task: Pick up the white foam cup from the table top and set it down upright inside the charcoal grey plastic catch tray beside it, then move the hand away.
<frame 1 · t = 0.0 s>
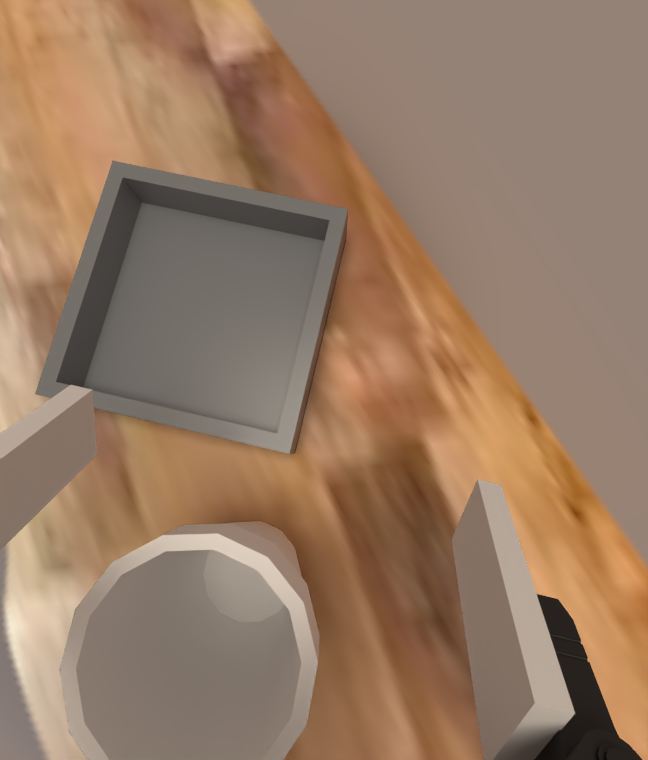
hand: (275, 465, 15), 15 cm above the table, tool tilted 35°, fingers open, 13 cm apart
foam cup: (252, 569, 29), on the table
catch tray: (212, 317, 32), on the table
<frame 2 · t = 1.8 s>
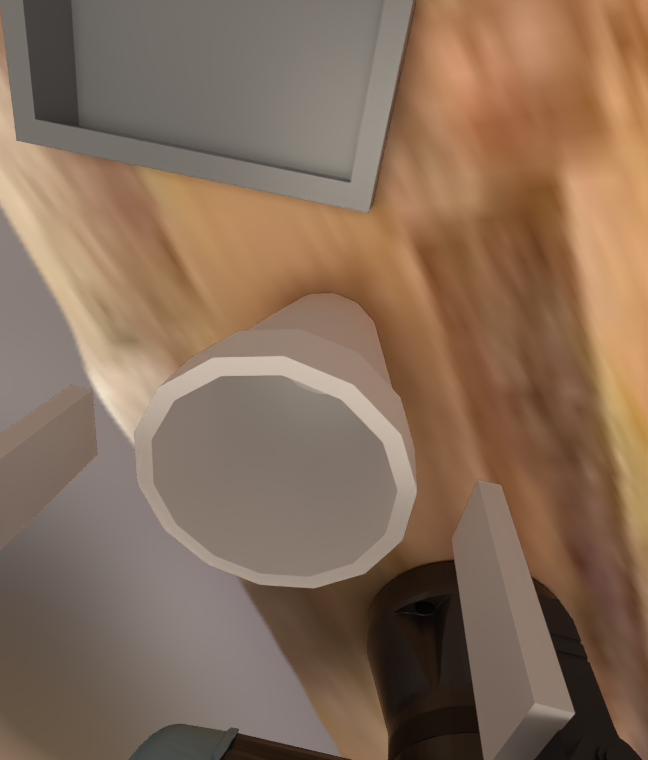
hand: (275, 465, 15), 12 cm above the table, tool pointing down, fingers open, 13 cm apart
foam cup: (326, 343, 26), on the table
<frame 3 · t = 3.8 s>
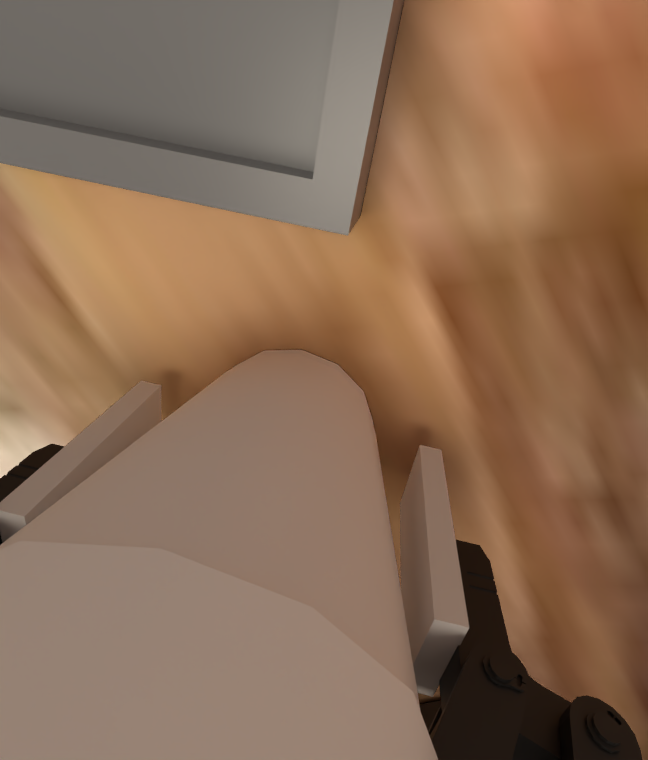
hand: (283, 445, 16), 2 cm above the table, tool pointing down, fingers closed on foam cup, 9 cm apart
foam cup: (293, 420, 18), on the table, touching gripper
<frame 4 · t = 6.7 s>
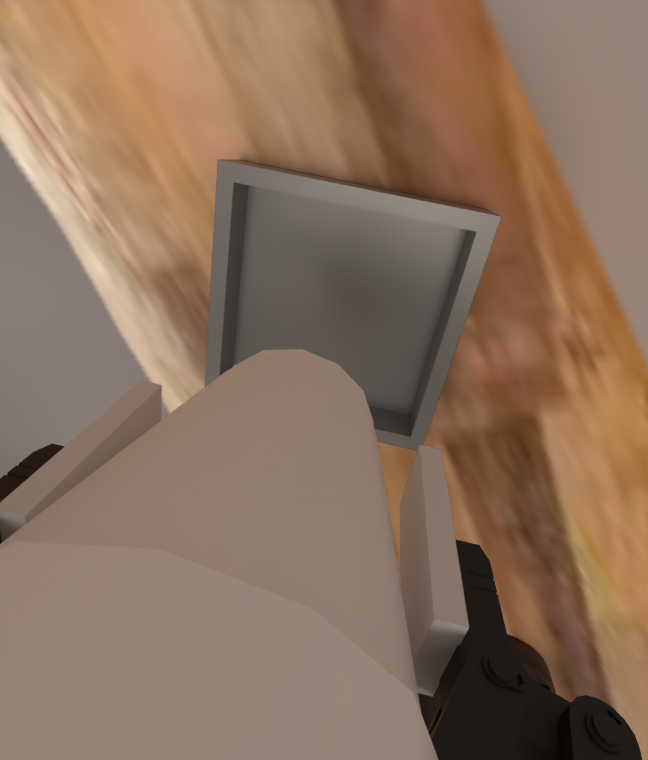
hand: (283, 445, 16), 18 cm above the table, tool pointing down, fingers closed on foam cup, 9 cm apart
foam cup: (293, 420, 18), point 16 cm above the table, touching gripper
catch tray: (338, 304, 32), on the table
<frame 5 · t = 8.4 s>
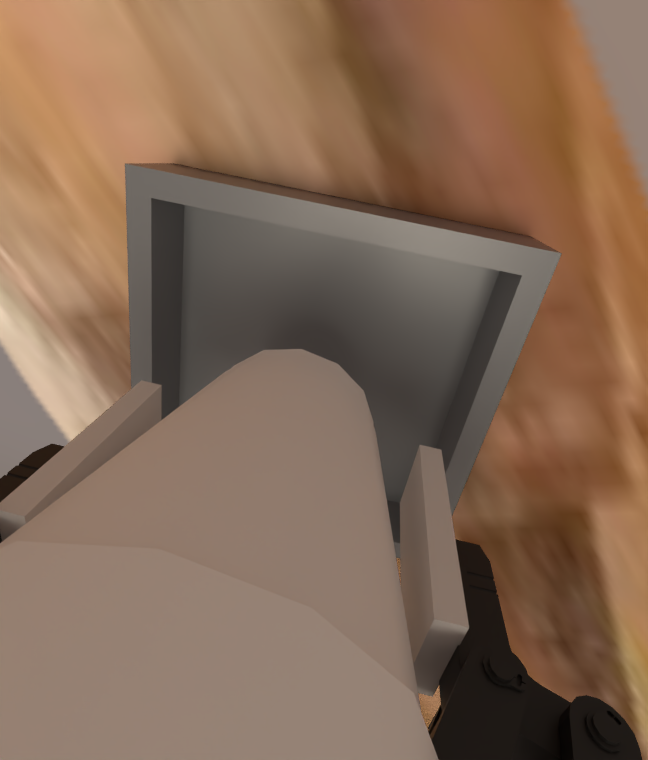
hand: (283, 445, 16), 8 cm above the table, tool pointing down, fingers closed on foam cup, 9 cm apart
foam cup: (293, 420, 17), point 6 cm above the table, touching gripper
catch tray: (317, 362, 23), on the table
when the fingers open (5 cm above the table, at t = 9.9 s): foam cup drops 2 cm, resting on catch tray.
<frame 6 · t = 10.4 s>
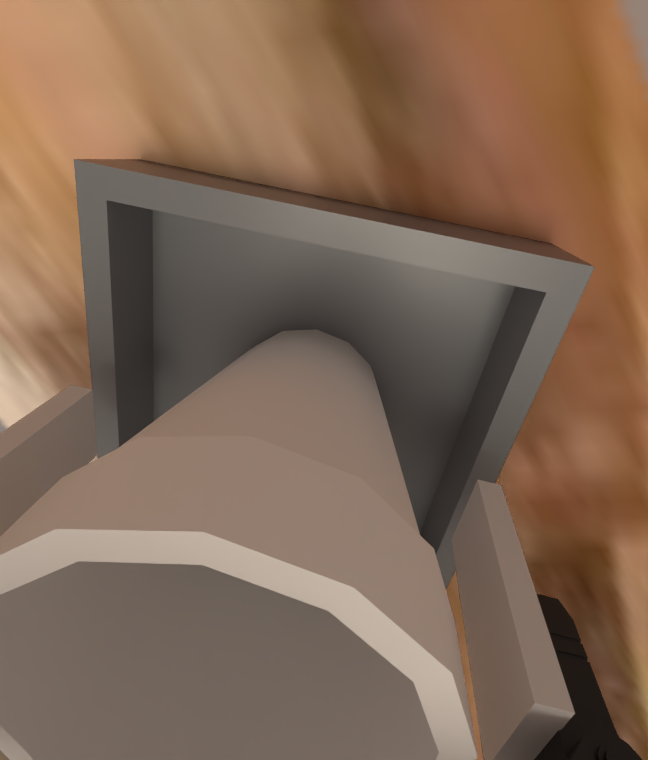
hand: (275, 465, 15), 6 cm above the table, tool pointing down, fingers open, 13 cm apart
foam cup: (307, 394, 20), point 1 cm above the table, touching catch tray
catch tray: (308, 383, 20), on the table
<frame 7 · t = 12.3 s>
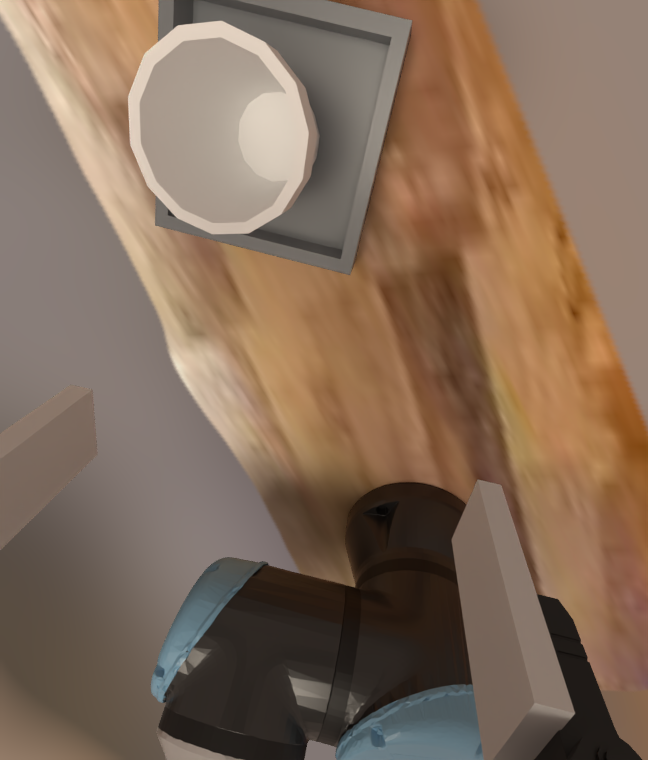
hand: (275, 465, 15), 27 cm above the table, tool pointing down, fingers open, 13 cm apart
foam cup: (279, 138, 34), point 1 cm above the table, touching catch tray
catch tray: (279, 137, 34), on the table
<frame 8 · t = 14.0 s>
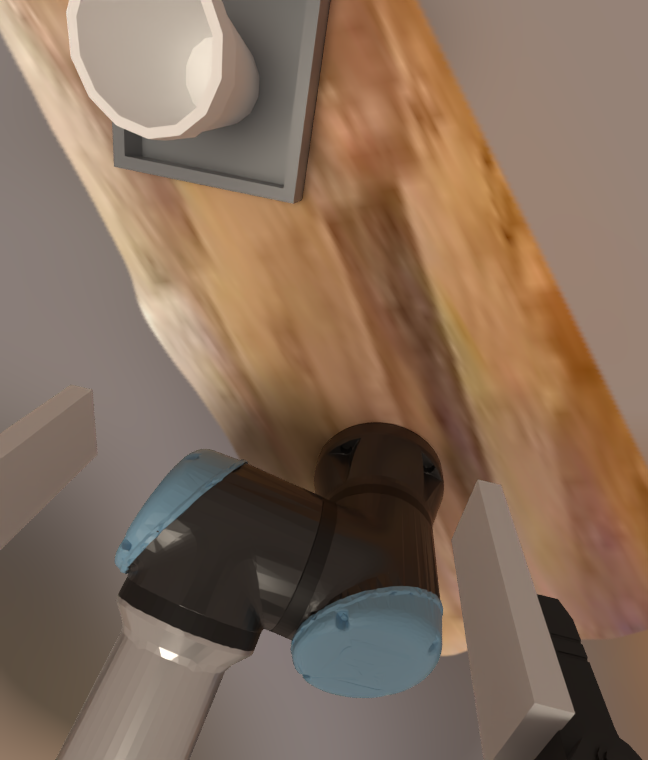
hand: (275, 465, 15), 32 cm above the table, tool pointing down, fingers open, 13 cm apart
foam cup: (223, 81, 37), point 1 cm above the table, touching catch tray
catch tray: (225, 82, 38), on the table
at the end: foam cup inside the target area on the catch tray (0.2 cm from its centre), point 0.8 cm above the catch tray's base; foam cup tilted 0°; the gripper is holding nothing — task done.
